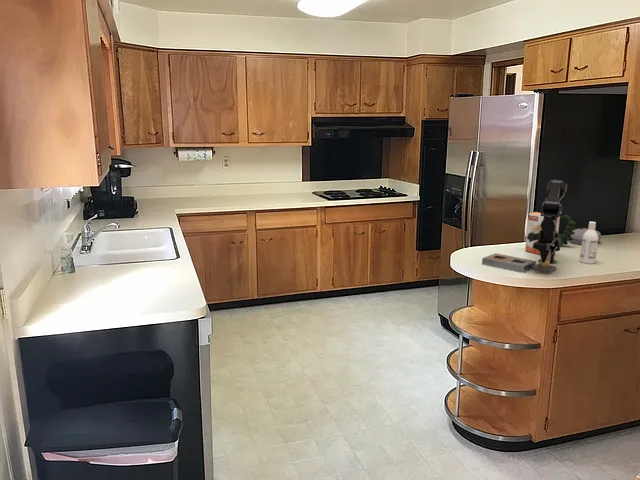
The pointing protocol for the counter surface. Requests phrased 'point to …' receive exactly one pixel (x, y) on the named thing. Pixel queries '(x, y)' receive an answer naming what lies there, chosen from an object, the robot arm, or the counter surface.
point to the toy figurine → (567, 231)
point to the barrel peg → (546, 262)
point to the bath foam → (589, 245)
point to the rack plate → (508, 262)
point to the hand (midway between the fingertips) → (544, 261)
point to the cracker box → (536, 230)
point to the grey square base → (543, 269)
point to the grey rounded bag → (581, 235)
